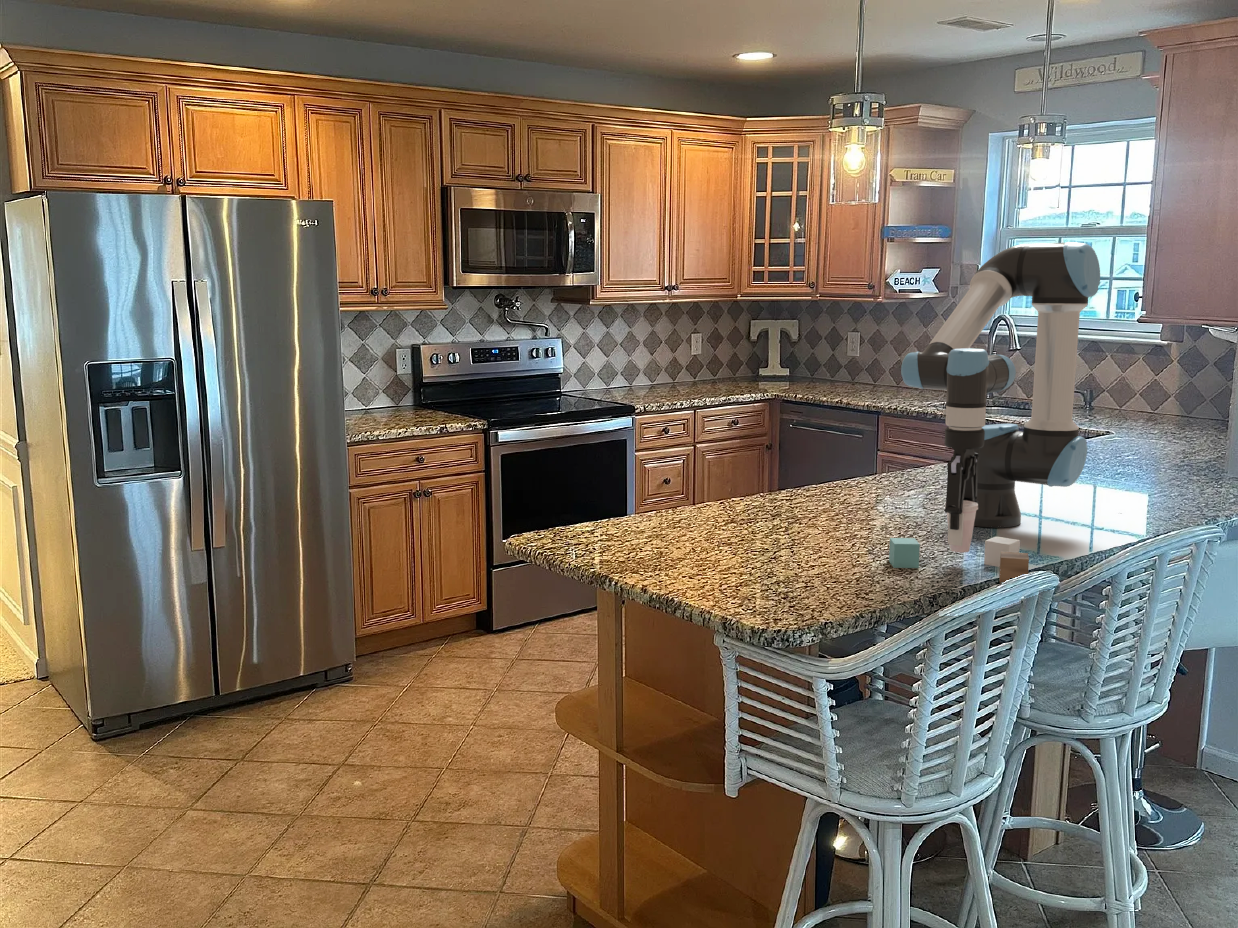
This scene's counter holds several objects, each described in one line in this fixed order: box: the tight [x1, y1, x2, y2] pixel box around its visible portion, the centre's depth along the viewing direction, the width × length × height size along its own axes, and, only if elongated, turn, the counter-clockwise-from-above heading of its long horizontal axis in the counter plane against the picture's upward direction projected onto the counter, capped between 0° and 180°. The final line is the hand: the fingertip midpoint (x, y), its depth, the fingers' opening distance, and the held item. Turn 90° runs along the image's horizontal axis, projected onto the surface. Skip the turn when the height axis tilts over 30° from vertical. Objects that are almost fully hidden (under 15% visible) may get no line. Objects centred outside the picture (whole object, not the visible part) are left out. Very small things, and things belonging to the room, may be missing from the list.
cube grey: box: [983, 536, 1021, 568], centre depth 217 cm, size 5×5×5 cm
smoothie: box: [944, 500, 978, 554], centre depth 215 cm, size 6×6×14 cm
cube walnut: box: [998, 551, 1030, 584], centre depth 205 cm, size 5×5×5 cm
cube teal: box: [888, 537, 921, 569], centre depth 217 cm, size 5×5×5 cm
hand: (960, 540), depth 216 cm, fingers closed on smoothie, 6 cm apart
